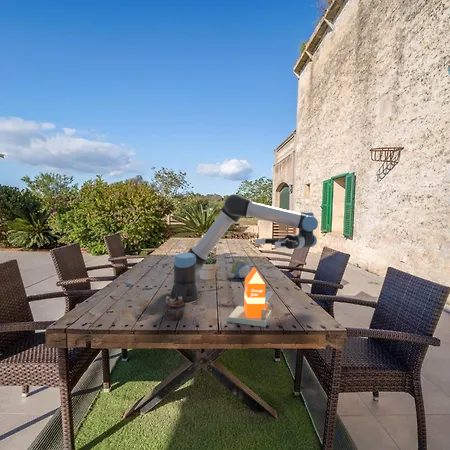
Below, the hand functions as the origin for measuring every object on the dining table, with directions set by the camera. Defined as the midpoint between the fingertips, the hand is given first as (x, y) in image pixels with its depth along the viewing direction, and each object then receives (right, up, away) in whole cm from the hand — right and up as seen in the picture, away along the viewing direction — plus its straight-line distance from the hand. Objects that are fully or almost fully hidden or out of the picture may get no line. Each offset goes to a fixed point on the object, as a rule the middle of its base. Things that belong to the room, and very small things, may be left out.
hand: (264, 243), depth 141 cm
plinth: (-8, -32, -11) cm, 35 cm away
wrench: (+3, -32, +17) cm, 36 cm away
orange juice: (-7, -31, -12) cm, 34 cm away
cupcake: (-42, -32, -13) cm, 54 cm away
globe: (-9, -29, +68) cm, 75 cm away
